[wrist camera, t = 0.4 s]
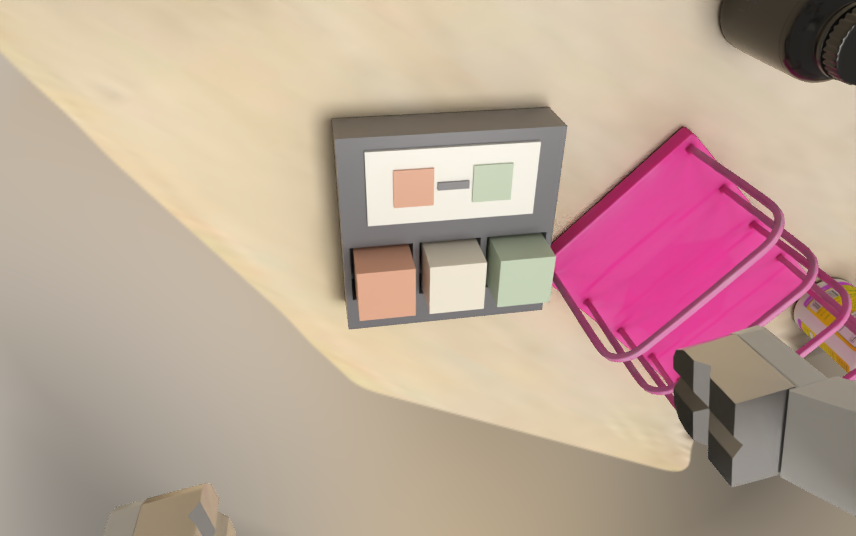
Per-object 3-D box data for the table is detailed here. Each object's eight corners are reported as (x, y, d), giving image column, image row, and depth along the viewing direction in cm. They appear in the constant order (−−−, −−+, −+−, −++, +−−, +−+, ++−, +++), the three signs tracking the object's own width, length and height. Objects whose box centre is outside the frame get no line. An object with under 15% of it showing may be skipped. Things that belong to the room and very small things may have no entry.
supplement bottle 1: (746, -58, 46) (870, -30, 36) (818, -30, 48) (953, 4, 38) (699, 37, 50) (800, 86, 40) (768, 60, 52) (880, 112, 42)
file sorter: (682, 123, 54) (805, 213, 41) (805, 275, 66) (929, 380, 53) (528, 261, 59) (595, 379, 46) (669, 378, 71) (753, 497, 58)
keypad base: (331, 118, 48) (335, 141, 44) (549, 107, 50) (569, 128, 47) (345, 301, 57) (349, 333, 54) (528, 284, 60) (543, 313, 56)
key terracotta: (352, 245, 51) (356, 274, 47) (407, 241, 51) (415, 268, 48) (355, 291, 53) (359, 320, 50) (408, 286, 54) (415, 315, 50)
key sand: (421, 240, 51) (430, 267, 48) (474, 235, 52) (487, 262, 49) (421, 285, 54) (429, 314, 51) (472, 280, 55) (483, 308, 51)
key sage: (488, 234, 52) (501, 261, 49) (539, 230, 53) (556, 256, 50) (484, 279, 55) (497, 307, 51) (534, 274, 55) (549, 302, 52)
